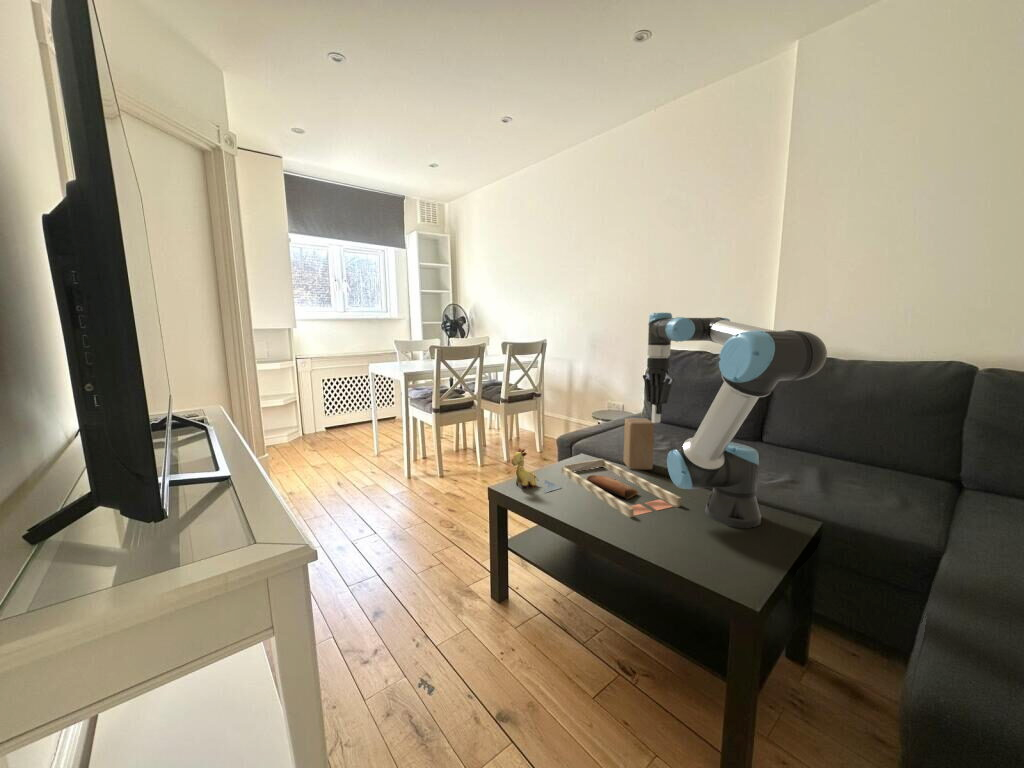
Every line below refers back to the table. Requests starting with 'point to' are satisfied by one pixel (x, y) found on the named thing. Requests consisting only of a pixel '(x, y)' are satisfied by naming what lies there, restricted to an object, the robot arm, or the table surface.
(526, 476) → the stuffed giraffe
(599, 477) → the sunglasses case
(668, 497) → the wooden tray
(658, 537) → the table surface
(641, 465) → the block
